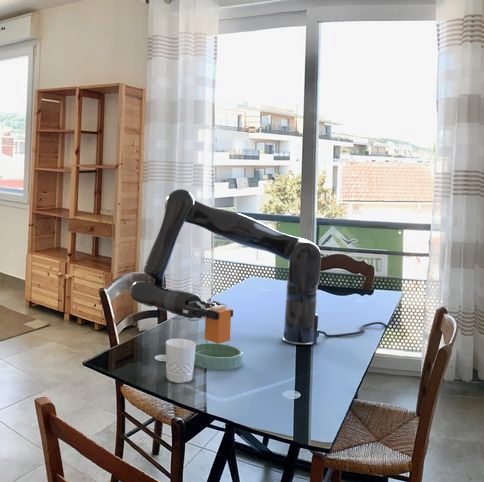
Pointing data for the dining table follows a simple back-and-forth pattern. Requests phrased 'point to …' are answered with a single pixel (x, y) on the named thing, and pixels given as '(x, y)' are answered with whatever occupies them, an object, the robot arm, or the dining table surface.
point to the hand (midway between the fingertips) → (225, 314)
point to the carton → (218, 325)
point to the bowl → (217, 356)
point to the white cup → (180, 360)
